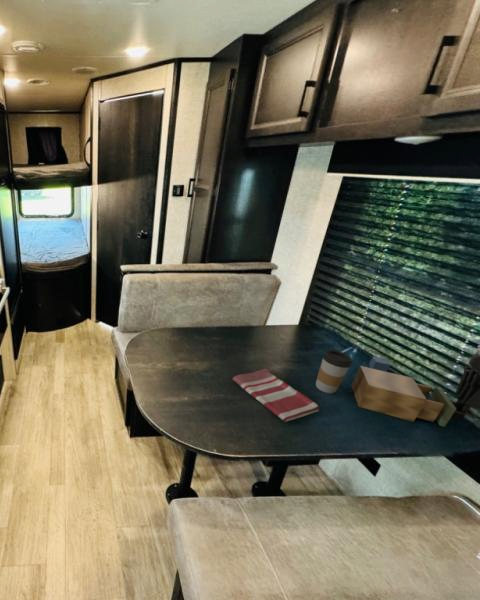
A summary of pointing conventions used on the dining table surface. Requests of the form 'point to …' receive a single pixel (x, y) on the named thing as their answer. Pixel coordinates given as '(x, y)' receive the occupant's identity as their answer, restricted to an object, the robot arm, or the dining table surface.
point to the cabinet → (388, 393)
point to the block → (379, 364)
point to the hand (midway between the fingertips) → (454, 417)
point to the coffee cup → (332, 371)
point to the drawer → (439, 406)
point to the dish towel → (276, 395)
